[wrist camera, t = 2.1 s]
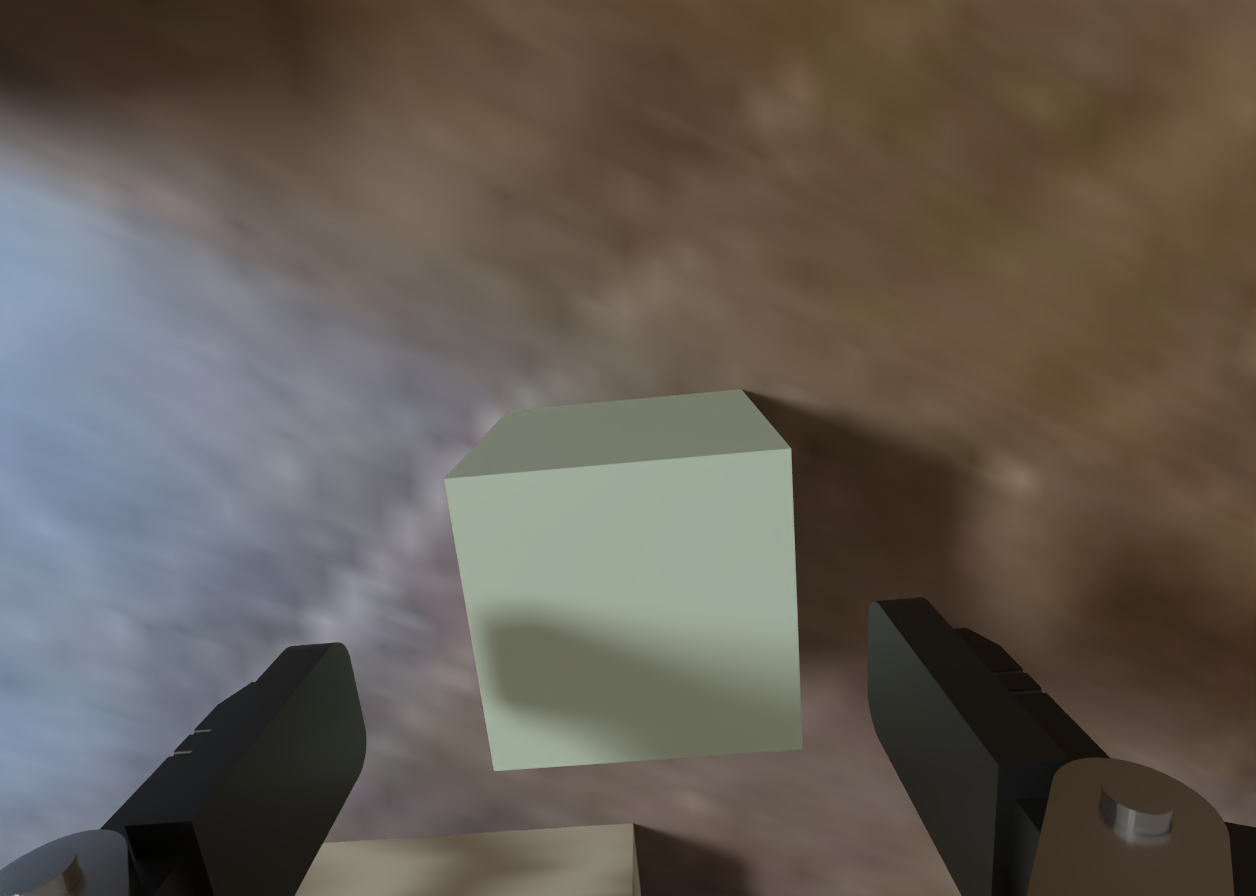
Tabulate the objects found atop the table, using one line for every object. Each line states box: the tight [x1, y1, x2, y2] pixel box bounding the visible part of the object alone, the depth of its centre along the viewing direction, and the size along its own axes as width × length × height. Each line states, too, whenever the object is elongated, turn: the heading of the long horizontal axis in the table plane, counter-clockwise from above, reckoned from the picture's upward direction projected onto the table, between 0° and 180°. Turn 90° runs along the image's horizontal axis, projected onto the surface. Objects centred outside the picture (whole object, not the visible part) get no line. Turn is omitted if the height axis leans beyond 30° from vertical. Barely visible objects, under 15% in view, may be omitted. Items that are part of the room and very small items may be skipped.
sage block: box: [444, 389, 803, 771], centre depth 15 cm, size 6×6×6 cm
